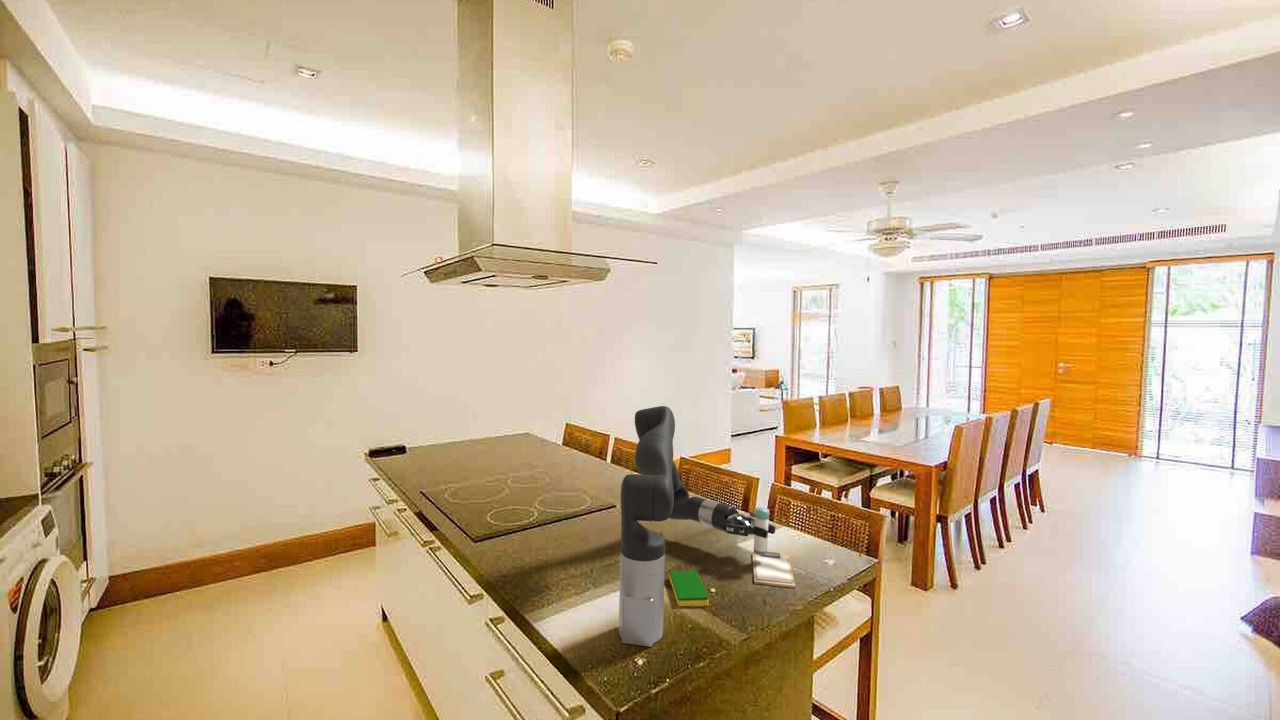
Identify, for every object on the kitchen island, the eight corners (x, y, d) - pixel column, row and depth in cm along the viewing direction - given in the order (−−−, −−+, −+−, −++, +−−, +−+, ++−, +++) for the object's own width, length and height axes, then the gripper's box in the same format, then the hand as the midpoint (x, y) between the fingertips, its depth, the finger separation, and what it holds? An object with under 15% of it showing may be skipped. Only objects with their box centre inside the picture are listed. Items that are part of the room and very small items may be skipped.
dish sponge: (696, 579, 135) (696, 570, 134) (708, 607, 121) (708, 597, 121) (669, 580, 134) (669, 571, 134) (678, 608, 120) (678, 598, 120)
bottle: (767, 556, 142) (769, 512, 141) (753, 554, 142) (755, 511, 142) (767, 550, 145) (768, 507, 145) (753, 548, 146) (754, 506, 145)
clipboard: (795, 588, 130) (795, 583, 130) (754, 583, 132) (754, 578, 132) (788, 557, 148) (788, 553, 148) (752, 554, 150) (752, 549, 150)
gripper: (704, 508, 148) (758, 525, 136) (731, 497, 158) (784, 512, 146) (703, 534, 148) (757, 553, 137) (730, 521, 159) (782, 538, 147)
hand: (770, 532), depth 142 cm, fingers closed on bottle, 3 cm apart
